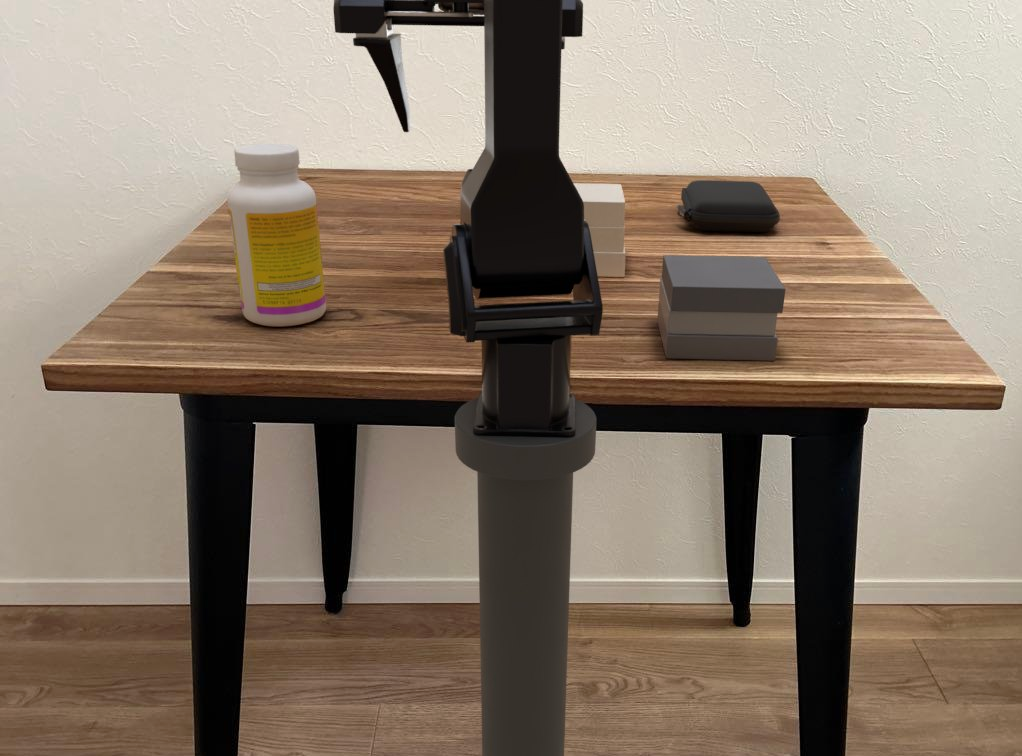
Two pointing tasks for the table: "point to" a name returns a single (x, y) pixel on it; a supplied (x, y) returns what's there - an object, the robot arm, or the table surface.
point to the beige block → (609, 250)
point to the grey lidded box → (719, 307)
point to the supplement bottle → (275, 238)
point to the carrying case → (728, 206)
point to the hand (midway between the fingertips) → (463, 132)
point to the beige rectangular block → (602, 204)
